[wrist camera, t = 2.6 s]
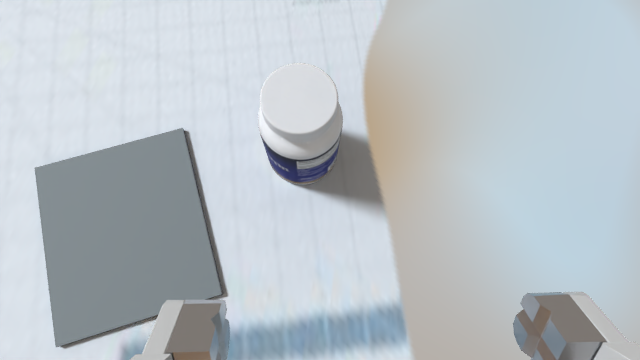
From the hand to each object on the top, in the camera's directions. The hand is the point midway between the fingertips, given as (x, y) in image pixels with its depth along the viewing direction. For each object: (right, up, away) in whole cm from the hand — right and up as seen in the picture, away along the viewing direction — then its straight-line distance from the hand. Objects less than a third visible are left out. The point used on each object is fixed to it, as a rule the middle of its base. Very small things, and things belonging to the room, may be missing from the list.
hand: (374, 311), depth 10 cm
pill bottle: (-3, +6, +22) cm, 23 cm away
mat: (-17, 0, +19) cm, 26 cm away
